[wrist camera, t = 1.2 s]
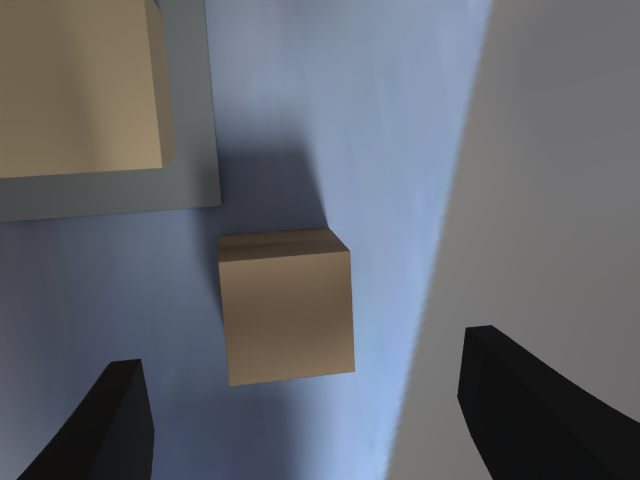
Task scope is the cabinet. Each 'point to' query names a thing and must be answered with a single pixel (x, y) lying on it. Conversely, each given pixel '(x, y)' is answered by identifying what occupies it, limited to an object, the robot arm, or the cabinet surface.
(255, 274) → the walnut block
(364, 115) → the cabinet surface
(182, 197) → the tower base
